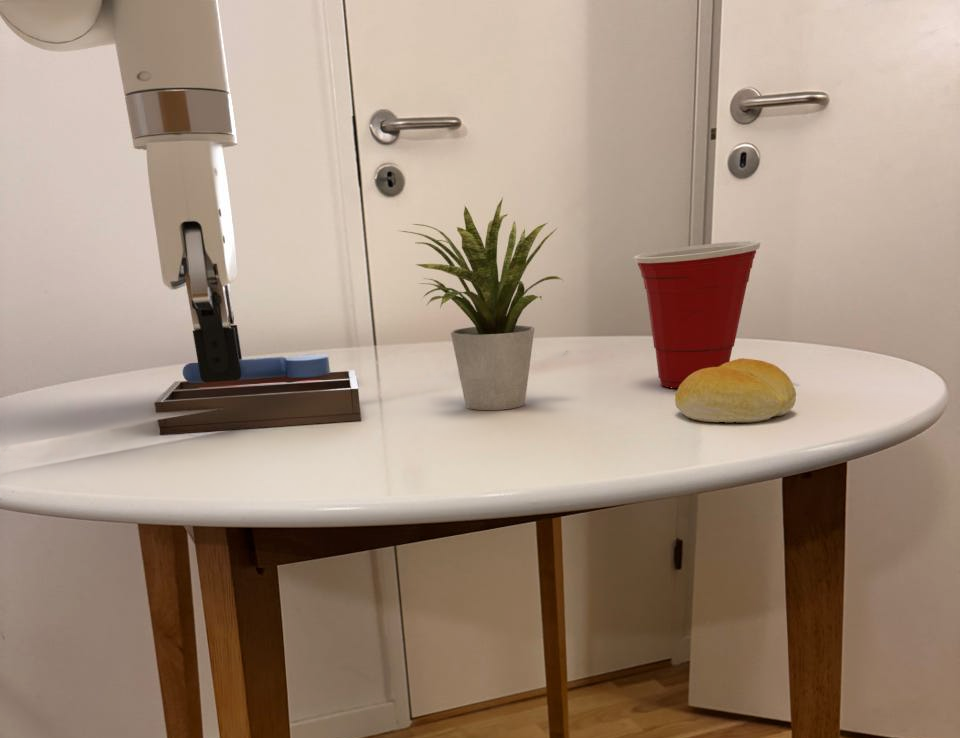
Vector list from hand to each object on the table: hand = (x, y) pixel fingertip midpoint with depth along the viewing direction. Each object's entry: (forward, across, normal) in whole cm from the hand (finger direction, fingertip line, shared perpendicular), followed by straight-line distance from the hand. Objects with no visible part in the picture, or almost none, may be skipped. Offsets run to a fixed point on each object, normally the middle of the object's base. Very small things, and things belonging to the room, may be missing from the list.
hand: (223, 376), depth 77 cm
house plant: (+4, -1, +22) cm, 23 cm away
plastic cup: (+4, -3, +41) cm, 42 cm away
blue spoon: (0, 0, +3) cm, 3 cm away
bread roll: (+4, +11, +40) cm, 42 cm away
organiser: (+4, -3, +3) cm, 6 cm away
